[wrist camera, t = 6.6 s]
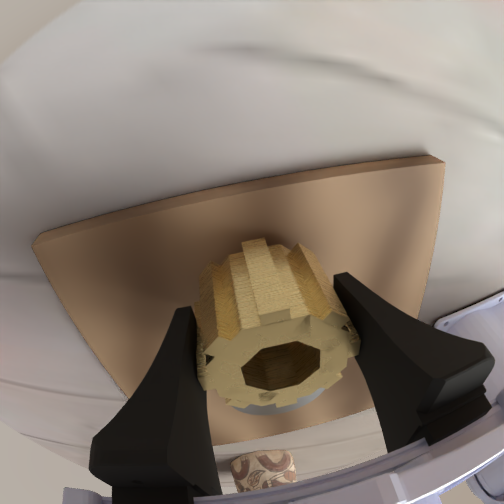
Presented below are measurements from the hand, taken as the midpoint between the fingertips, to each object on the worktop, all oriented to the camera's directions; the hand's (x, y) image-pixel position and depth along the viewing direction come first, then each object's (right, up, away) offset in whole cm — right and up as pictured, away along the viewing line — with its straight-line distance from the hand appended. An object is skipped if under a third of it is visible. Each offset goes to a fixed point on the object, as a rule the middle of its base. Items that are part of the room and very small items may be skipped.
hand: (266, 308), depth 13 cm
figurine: (+1, -22, +18) cm, 28 cm away
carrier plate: (0, -4, +7) cm, 8 cm away
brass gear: (0, 0, +1) cm, 1 cm away
